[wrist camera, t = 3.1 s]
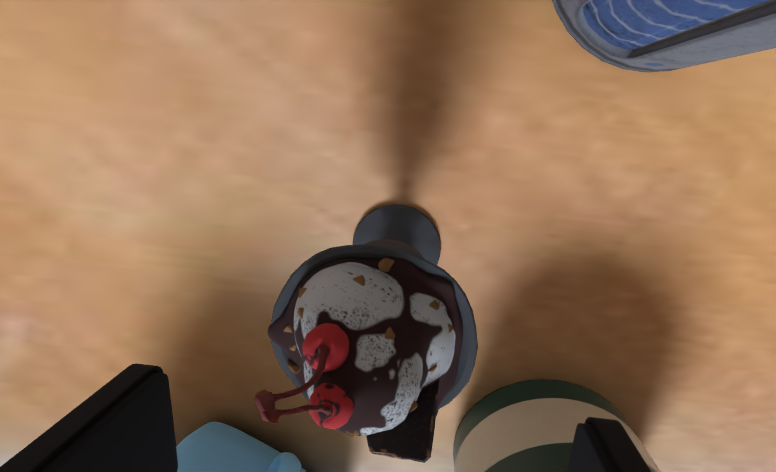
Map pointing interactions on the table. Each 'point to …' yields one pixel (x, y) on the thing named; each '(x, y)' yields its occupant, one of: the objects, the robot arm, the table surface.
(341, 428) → the sundae
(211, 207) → the table surface
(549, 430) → the tin
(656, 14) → the beverage bottle
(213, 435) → the teapot
